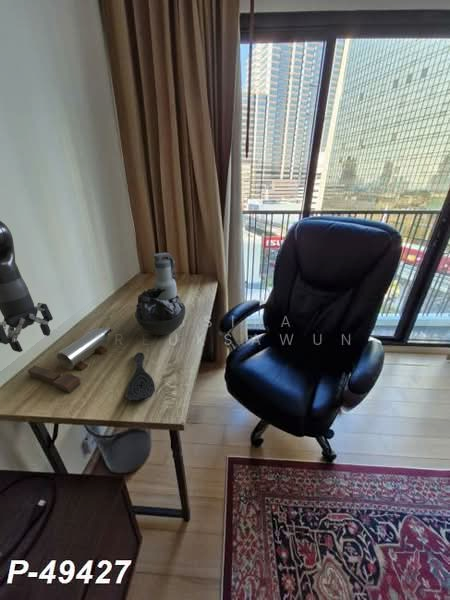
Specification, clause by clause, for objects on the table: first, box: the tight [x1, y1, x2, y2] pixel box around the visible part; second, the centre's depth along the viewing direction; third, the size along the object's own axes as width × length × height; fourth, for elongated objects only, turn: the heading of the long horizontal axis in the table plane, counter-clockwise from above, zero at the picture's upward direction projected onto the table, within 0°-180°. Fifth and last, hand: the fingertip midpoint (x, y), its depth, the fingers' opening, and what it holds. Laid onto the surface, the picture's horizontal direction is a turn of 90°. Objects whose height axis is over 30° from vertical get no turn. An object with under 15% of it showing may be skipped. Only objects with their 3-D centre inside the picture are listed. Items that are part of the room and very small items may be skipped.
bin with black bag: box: [134, 287, 186, 336], centre depth 102 cm, size 20×20×19 cm
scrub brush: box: [26, 365, 81, 394], centre depth 80 cm, size 19×4×3 cm, turn 69°
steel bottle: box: [56, 326, 113, 371], centre depth 92 cm, size 20×8×8 cm, turn 159°
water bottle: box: [153, 252, 178, 300], centre depth 117 cm, size 10×10×28 cm
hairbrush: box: [125, 352, 156, 403], centre depth 81 cm, size 8×4×25 cm
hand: (33, 342), depth 76 cm, fingers open, 8 cm apart
